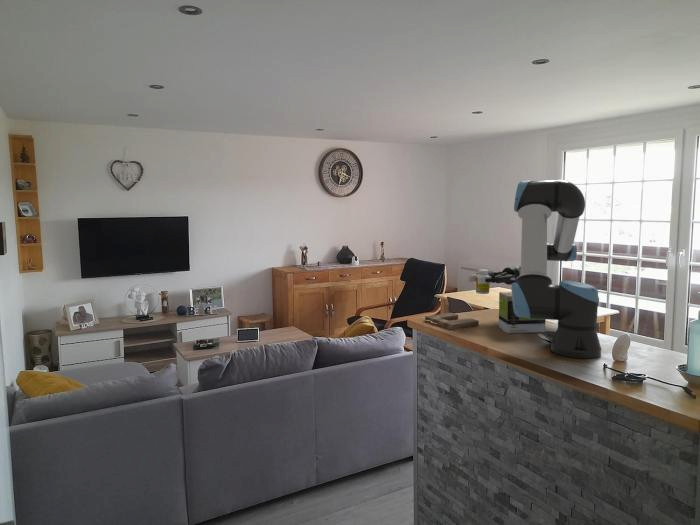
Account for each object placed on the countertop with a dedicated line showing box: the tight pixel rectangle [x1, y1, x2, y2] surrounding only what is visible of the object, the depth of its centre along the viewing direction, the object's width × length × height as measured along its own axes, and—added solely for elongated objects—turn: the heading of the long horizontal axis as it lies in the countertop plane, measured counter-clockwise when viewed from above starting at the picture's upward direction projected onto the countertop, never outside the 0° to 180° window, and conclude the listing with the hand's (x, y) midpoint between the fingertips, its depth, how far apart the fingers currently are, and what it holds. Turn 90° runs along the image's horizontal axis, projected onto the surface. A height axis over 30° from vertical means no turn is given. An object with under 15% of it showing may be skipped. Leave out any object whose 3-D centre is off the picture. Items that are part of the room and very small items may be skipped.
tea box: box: [498, 291, 546, 334], centre depth 191 cm, size 15×10×15 cm
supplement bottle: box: [475, 268, 491, 295], centre depth 203 cm, size 5×5×10 cm
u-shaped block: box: [424, 312, 479, 331], centre depth 203 cm, size 17×14×2 cm
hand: (473, 279), depth 200 cm, fingers closed on supplement bottle, 5 cm apart
